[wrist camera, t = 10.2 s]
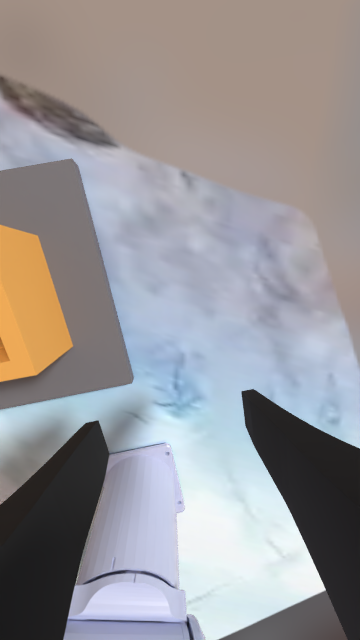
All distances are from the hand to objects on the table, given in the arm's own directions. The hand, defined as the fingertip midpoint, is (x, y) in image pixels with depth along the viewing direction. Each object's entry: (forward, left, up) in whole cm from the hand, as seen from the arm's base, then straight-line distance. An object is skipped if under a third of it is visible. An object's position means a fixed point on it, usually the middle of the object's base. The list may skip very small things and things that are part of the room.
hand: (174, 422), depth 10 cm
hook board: (+7, +11, -9) cm, 16 cm away
